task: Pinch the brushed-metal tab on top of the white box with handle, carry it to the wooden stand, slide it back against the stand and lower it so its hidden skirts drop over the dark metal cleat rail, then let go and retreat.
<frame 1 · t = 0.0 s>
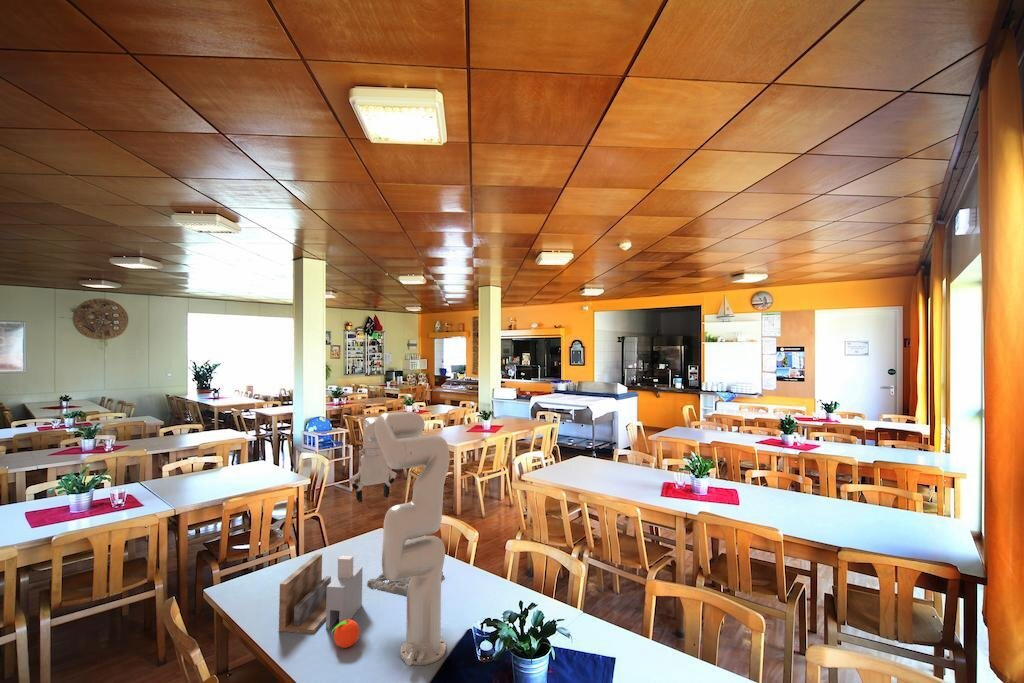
hand: (372, 499, 170), 31 cm above the table, tool pointing down, fingers open, 9 cm apart
wooden stand: (313, 612, 151), on the table
clementine: (344, 647, 134), on the table
white box with handle: (344, 616, 149), on the table
wall plaque: (406, 582, 173), on the table
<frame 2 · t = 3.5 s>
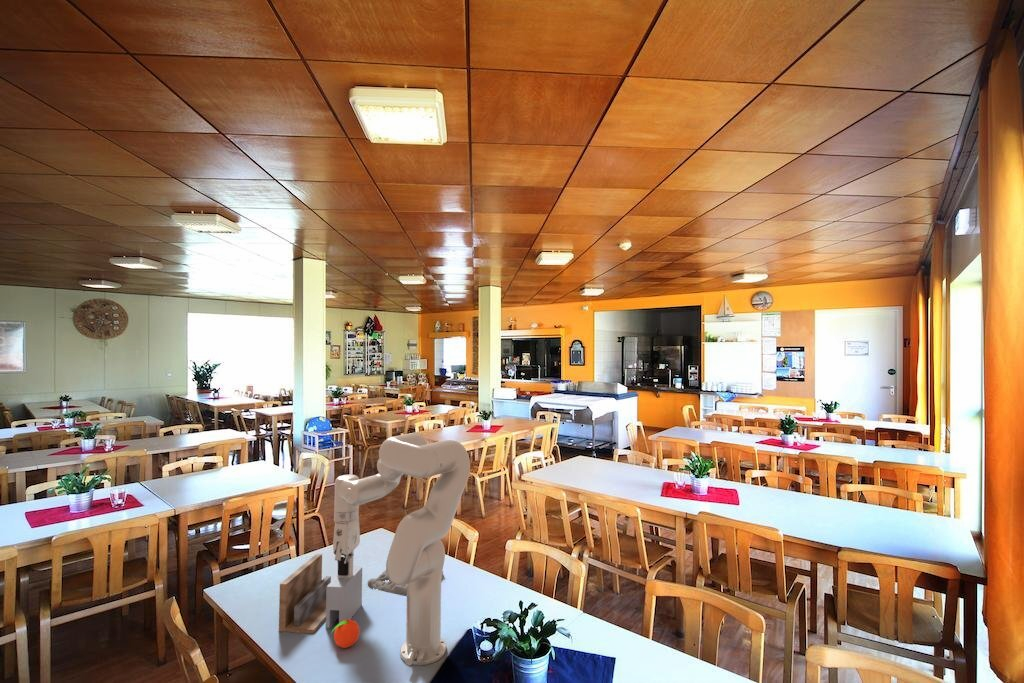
hand: (345, 572, 150), 14 cm above the table, tool pointing down, fingers closed on white box with handle, 2 cm apart
white box with handle: (344, 615, 149), on the table, touching gripper
everything else where it was.
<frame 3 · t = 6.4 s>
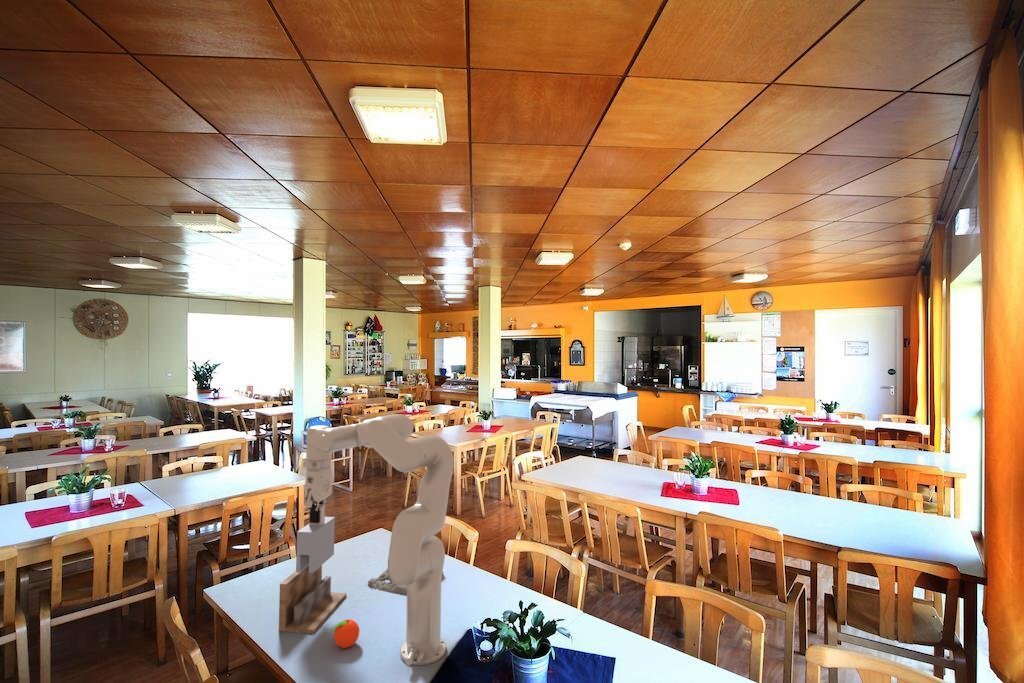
hand: (317, 520, 152), 29 cm above the table, tool pointing down, fingers closed on white box with handle, 2 cm apart
white box with handle: (315, 562, 152), point 16 cm above the table, touching gripper
everything else where it was.
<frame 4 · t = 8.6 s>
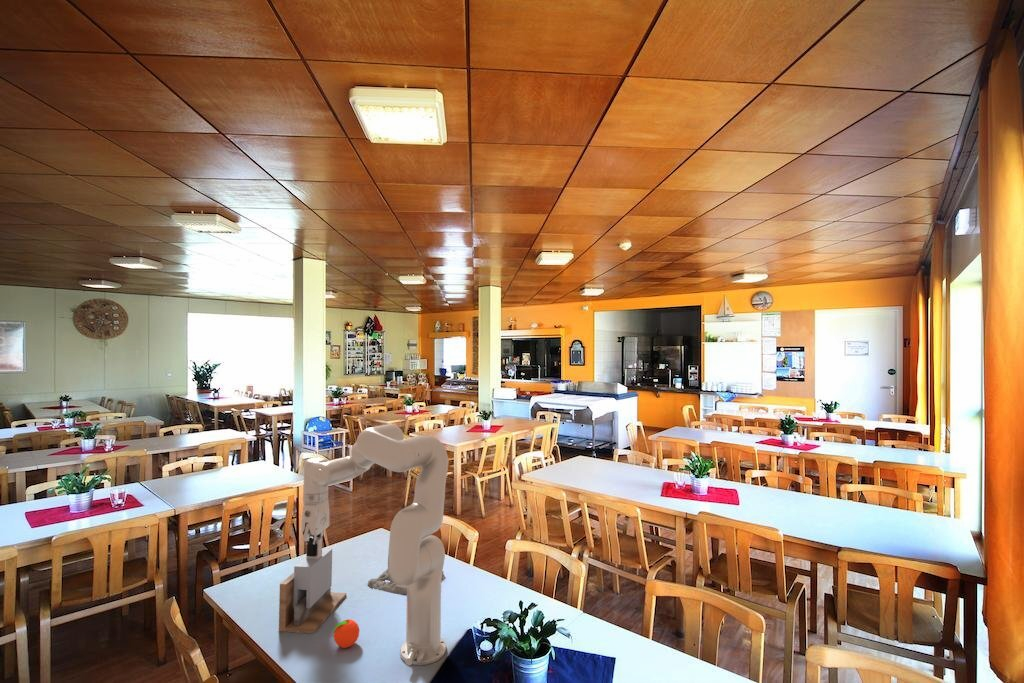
hand: (314, 553, 152), 19 cm above the table, tool pointing down, fingers closed on white box with handle, 2 cm apart
white box with handle: (313, 596, 152), point 5 cm above the table, touching gripper
everything else where it was.
when the fingers open (15 cm above the table, at t = 9.7 s): white box with handle stays where it is, resting on wooden stand.
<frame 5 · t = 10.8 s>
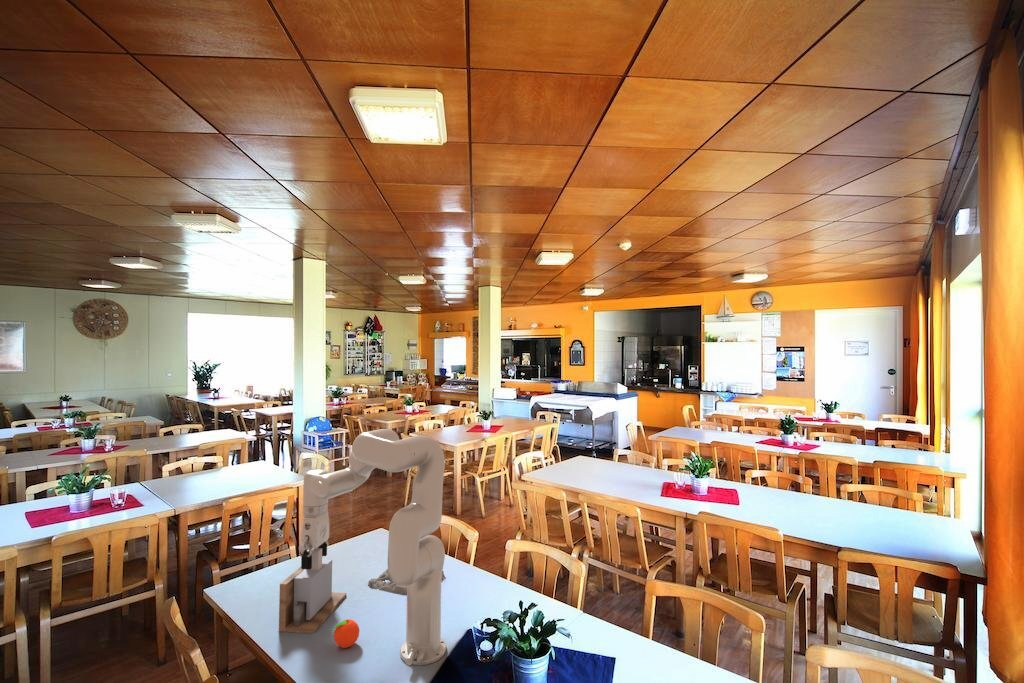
hand: (314, 562, 152), 16 cm above the table, tool pointing down, fingers open, 9 cm apart
white box with handle: (313, 607, 151), point 1 cm above the table, touching wooden stand
everything else where it was.
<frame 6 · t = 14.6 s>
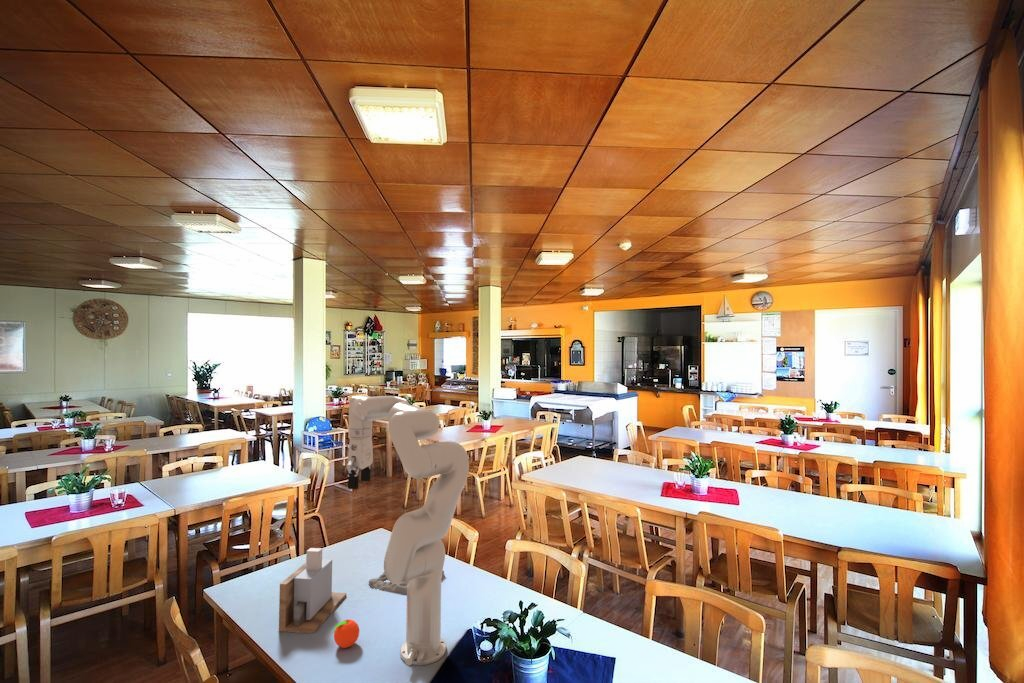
hand: (359, 484, 156), 40 cm above the table, tool pointing down, fingers open, 9 cm apart
nothing on the table moved.
at the end: white box with handle 0.1 cm off-centre on the wooden stand, point 1.5 cm above the wooden stand's base; white box with handle tilted 0°; the gripper is holding nothing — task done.
